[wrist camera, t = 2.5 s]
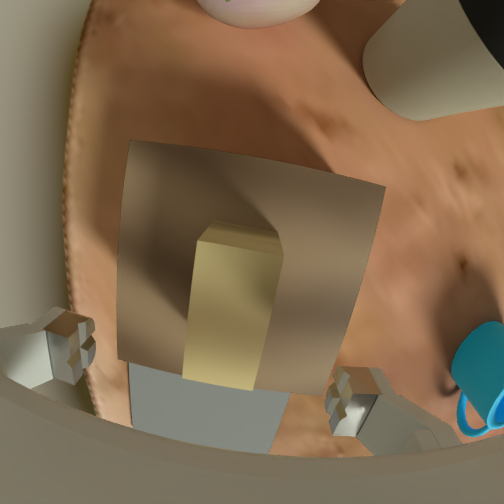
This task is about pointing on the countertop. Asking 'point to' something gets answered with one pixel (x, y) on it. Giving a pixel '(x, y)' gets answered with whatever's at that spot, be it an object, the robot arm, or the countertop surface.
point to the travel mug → (438, 58)
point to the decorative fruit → (256, 11)
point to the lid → (239, 266)
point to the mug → (481, 377)
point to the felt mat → (204, 411)
